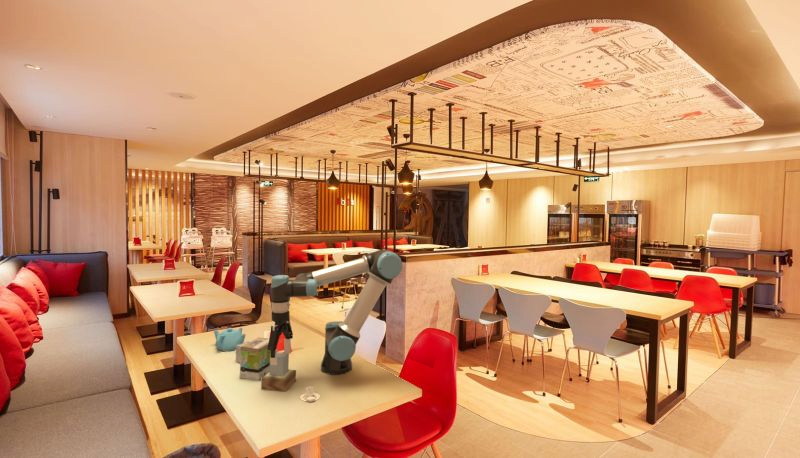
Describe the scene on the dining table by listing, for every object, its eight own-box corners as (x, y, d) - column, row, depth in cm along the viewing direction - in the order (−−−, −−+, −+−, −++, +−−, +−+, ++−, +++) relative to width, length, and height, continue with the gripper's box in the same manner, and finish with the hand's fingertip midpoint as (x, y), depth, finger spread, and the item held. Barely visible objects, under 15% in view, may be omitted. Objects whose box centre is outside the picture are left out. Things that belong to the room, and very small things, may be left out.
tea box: (259, 380, 180) (259, 348, 180) (239, 378, 182) (239, 346, 182) (276, 368, 195) (276, 338, 194) (257, 366, 197) (257, 336, 196)
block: (275, 369, 180) (276, 352, 180) (288, 370, 179) (288, 353, 179) (269, 374, 174) (269, 356, 174) (282, 376, 173) (282, 357, 173)
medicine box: (241, 364, 199) (241, 346, 199) (235, 361, 201) (235, 344, 201) (254, 359, 206) (254, 342, 205) (248, 357, 208) (249, 340, 208)
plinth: (295, 381, 181) (296, 369, 181) (285, 391, 170) (285, 379, 170) (272, 378, 183) (273, 367, 183) (261, 389, 172) (261, 376, 172)
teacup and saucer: (314, 404, 161) (314, 394, 161) (295, 402, 162) (296, 392, 162) (322, 394, 170) (322, 385, 169) (304, 392, 171) (304, 383, 171)
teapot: (213, 345, 225) (213, 326, 224) (242, 341, 232) (242, 323, 232) (215, 354, 212) (215, 333, 211) (245, 350, 219) (246, 330, 218)
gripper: (275, 319, 162) (276, 370, 163) (299, 304, 187) (300, 349, 188) (258, 318, 163) (259, 369, 165) (284, 303, 188) (285, 348, 189)
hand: (281, 358), depth 176 cm, fingers open, 13 cm apart
